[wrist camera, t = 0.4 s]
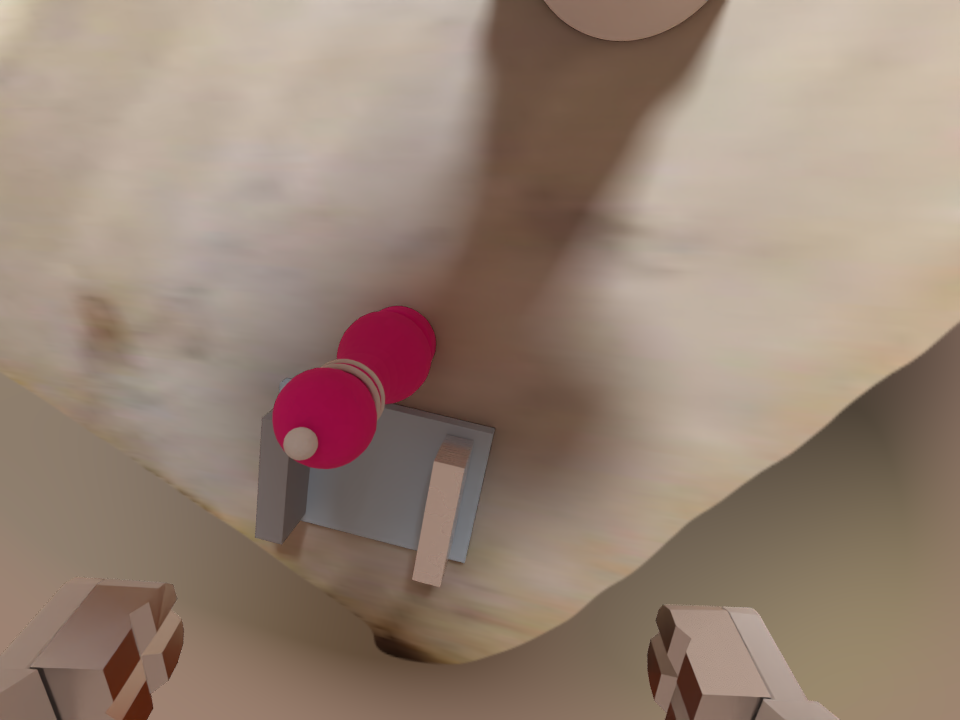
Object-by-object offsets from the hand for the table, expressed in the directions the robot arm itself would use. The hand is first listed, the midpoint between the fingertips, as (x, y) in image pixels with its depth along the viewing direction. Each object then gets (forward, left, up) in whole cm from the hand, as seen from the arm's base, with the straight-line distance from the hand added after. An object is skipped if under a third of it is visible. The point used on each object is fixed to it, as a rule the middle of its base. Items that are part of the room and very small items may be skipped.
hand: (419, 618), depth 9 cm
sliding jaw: (+22, -3, -35) cm, 42 cm away
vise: (+22, -10, -37) cm, 44 cm away
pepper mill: (+9, -10, -37) cm, 39 cm away
